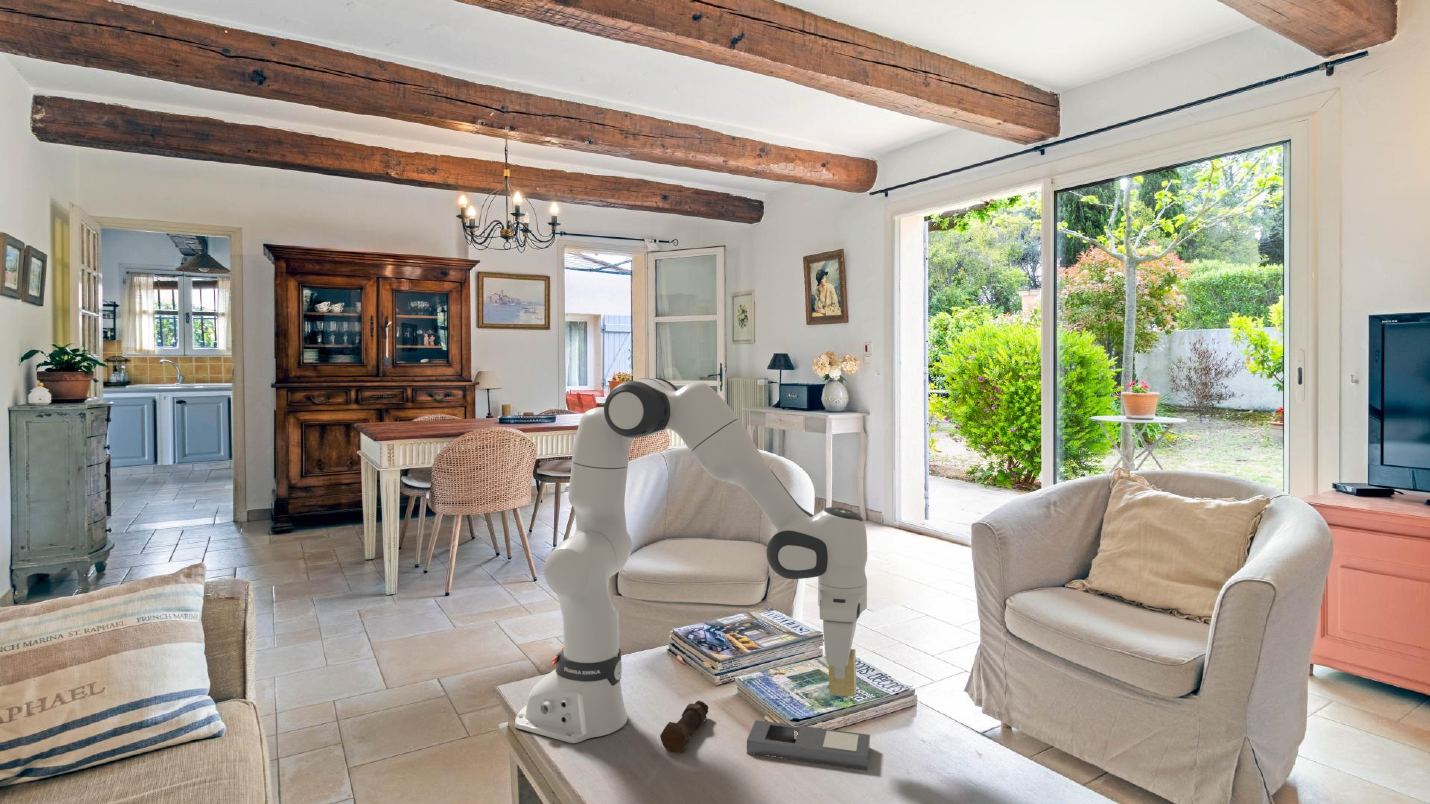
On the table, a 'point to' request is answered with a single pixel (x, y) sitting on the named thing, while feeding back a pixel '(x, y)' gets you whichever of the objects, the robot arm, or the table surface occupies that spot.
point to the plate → (810, 744)
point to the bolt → (684, 727)
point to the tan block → (844, 685)
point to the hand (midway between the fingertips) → (841, 670)
